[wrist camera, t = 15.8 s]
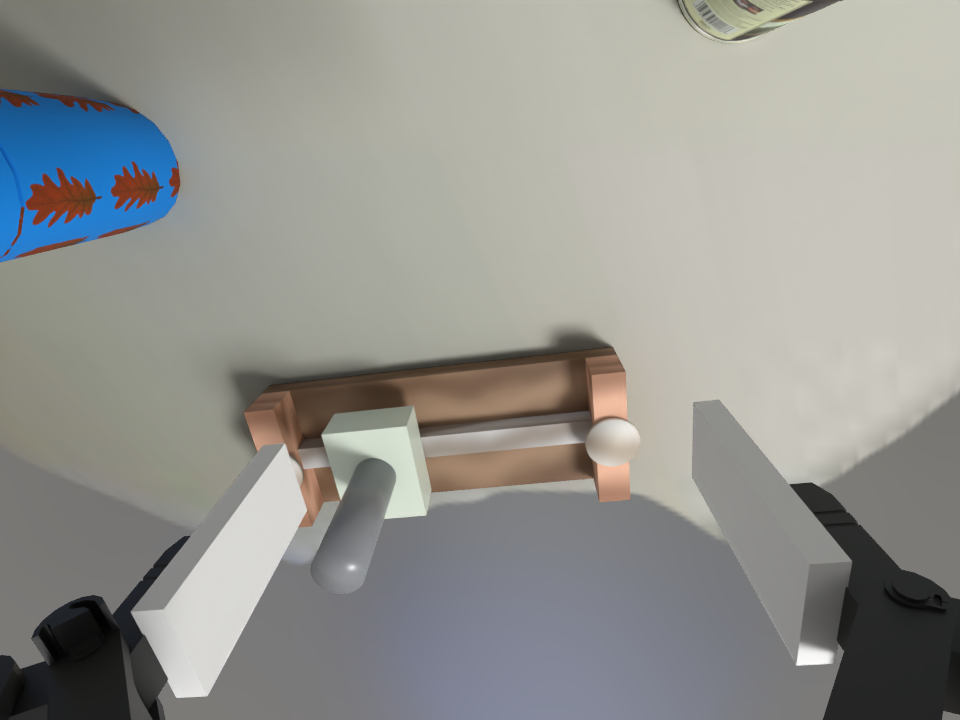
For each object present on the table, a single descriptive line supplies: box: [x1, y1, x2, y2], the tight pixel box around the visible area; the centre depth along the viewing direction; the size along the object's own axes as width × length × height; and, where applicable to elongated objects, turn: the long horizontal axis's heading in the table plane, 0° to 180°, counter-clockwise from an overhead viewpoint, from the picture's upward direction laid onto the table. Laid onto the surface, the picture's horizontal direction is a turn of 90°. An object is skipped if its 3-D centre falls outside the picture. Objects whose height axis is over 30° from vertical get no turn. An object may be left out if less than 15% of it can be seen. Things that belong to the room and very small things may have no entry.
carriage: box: [311, 406, 432, 594], centre depth 46 cm, size 10×8×16 cm
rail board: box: [243, 347, 640, 527], centre depth 53 cm, size 14×38×7 cm, turn 98°
